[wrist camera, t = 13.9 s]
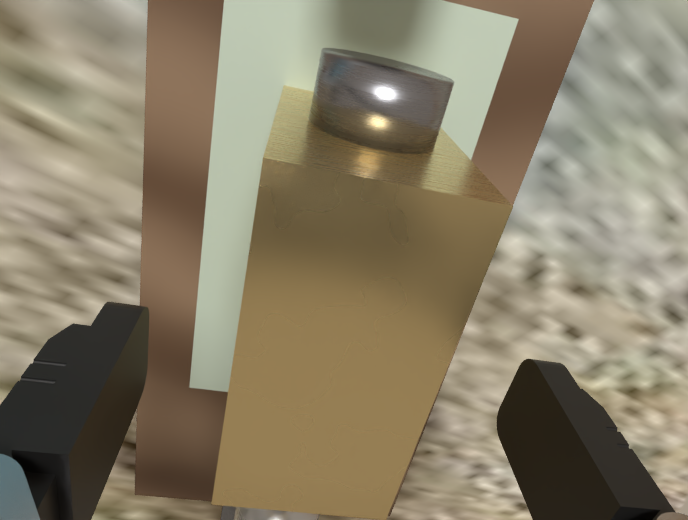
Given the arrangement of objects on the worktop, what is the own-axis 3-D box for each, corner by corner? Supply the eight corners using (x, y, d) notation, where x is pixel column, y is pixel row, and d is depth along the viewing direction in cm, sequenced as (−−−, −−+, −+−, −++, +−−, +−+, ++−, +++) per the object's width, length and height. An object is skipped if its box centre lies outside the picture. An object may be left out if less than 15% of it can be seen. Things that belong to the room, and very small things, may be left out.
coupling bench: (180, -444, 11) (32, -924, 5) (670, -270, 13) (968, -482, 7) (144, 466, 24) (92, 615, 18) (385, 489, 26) (406, 631, 20)
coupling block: (292, 29, 14) (277, 63, 8) (447, 65, 14) (546, 123, 8) (239, 364, 19) (206, 541, 13) (353, 379, 20) (371, 554, 14)
